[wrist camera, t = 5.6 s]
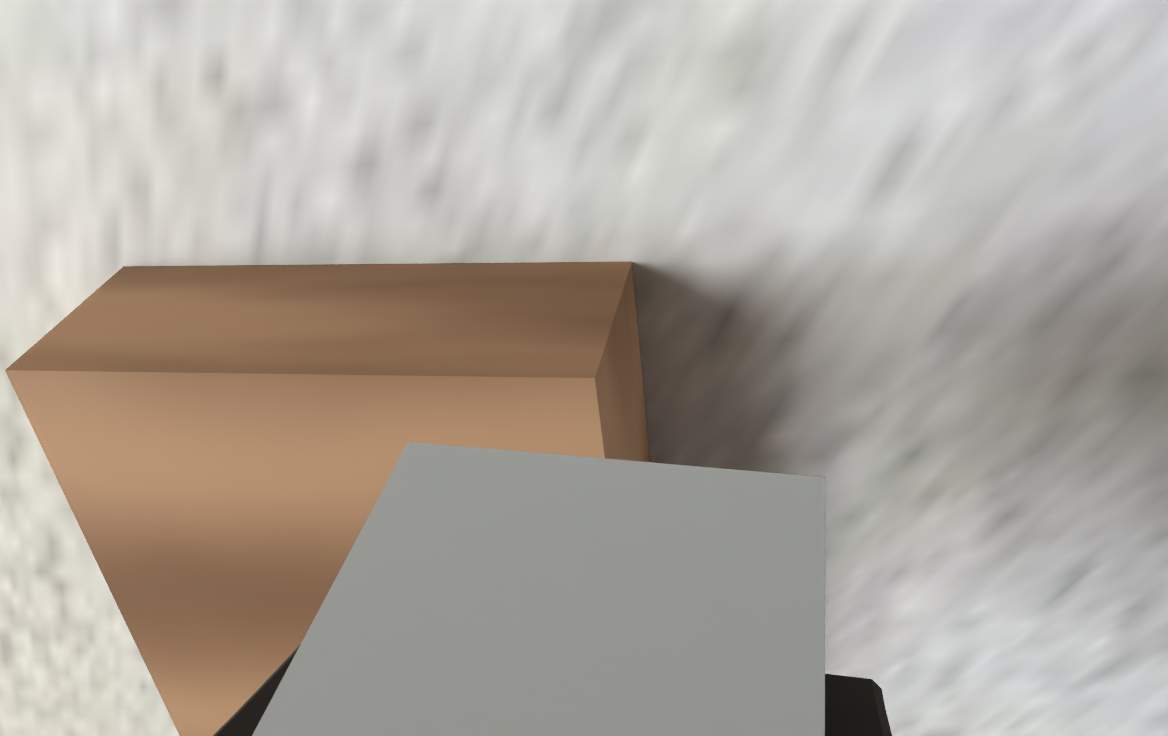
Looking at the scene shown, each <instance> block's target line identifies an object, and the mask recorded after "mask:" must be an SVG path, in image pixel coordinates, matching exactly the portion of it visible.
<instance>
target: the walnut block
mask: <svg viewBox="0 0 1168 736" xmlns="http://www.w3.org/2000/svg"><path fill="white" fill-rule="evenodd" d="M5 371H6V373H7V375H8V377H9V379H10V381H11V383H12V385H13V388H14V390H15V392H16V394H17V396H18V398H19V400H20V402H21V404H22V406H23V409H24V411H25V413H26V415H27V417H28V419H29V421H30V423H31V425H32V427H33V429H34V432H35V434H36V436H37V438H38V440H39V442H40V444H41V446H42V448H43V450H44V452H45V455H46V457H47V459H48V461H49V463H50V465H51V467H52V469H53V471H54V473H55V475H56V478H57V480H58V482H59V484H60V486H61V488H62V490H63V492H64V494H65V496H66V498H67V501H68V503H69V505H70V507H71V509H72V511H73V513H74V515H75V517H76V519H77V522H78V524H79V526H80V528H81V530H82V532H83V534H84V536H85V538H86V540H87V542H88V545H89V547H90V549H91V551H92V553H93V555H94V557H95V559H96V561H97V563H98V565H99V568H100V570H101V572H102V574H103V576H104V578H105V580H106V582H107V584H108V586H109V588H110V591H111V593H112V595H113V597H114V599H115V601H116V603H117V605H118V607H119V609H120V611H121V614H122V616H123V618H124V620H125V622H126V624H127V626H128V628H129V630H130V632H131V635H132V637H133V639H134V641H135V643H136V645H137V647H138V649H139V651H140V653H141V655H142V658H143V660H144V662H145V664H146V666H147V668H148V670H149V672H150V674H151V676H152V678H153V681H154V683H155V685H156V687H157V689H158V691H159V693H160V695H161V697H162V699H163V701H164V704H165V706H166V708H167V710H168V712H169V714H170V716H171V718H172V720H173V722H174V725H175V727H176V729H177V731H178V733H179V735H180V736H213V735H214V734H215V733H216V732H217V731H218V730H219V729H220V728H221V727H222V726H223V725H224V724H225V723H226V722H227V721H228V720H229V719H230V718H231V717H232V716H233V715H234V714H235V713H236V712H237V711H238V710H239V709H240V708H241V707H242V705H243V704H244V703H245V702H246V701H247V700H248V699H249V698H250V697H251V696H252V695H253V694H254V693H255V692H256V691H257V690H258V689H259V688H260V687H261V686H262V685H263V684H264V683H265V681H266V680H267V679H268V678H269V677H270V676H271V675H272V674H273V673H274V672H275V671H276V670H277V669H278V668H279V667H280V666H281V665H282V663H283V662H284V661H285V660H286V659H287V658H288V657H289V656H290V655H291V654H292V653H293V652H294V651H295V650H296V649H297V647H298V646H299V645H300V644H301V643H302V641H303V639H304V637H305V635H306V633H307V631H308V630H309V628H310V626H311V624H312V622H313V620H314V618H315V616H316V615H317V613H318V611H319V609H320V607H321V605H322V603H323V601H324V599H325V598H326V596H327V594H328V592H329V590H330V588H331V586H332V584H333V583H334V581H335V579H336V577H337V575H338V573H339V571H340V569H341V567H342V566H343V564H344V562H345V560H346V558H347V556H348V554H349V552H350V551H351V549H352V547H353V545H354V543H355V541H356V539H357V537H358V535H359V534H360V532H361V530H362V528H363V526H364V524H365V522H366V520H367V519H368V517H369V515H370V513H371V511H372V509H373V507H374V505H375V504H376V502H377V500H378V498H379V496H380V494H381V492H382V490H383V488H384V487H385V485H386V483H387V481H388V479H389V477H390V475H391V473H392V472H393V470H394V468H395V466H396V464H397V462H398V460H399V458H400V456H401V455H402V453H403V451H404V449H405V447H406V445H407V443H408V442H416V443H428V444H440V445H452V446H463V447H475V448H487V449H499V450H511V451H522V452H534V453H546V454H558V455H570V456H581V457H593V458H605V459H617V460H628V461H640V462H651V460H650V449H649V439H648V428H647V418H646V407H645V396H644V386H643V375H642V364H641V354H640V343H639V332H638V322H637V311H636V301H635V290H634V279H633V269H632V262H547V263H444V264H340V265H237V266H133V267H123V268H121V269H120V270H119V271H118V272H117V273H116V274H115V275H113V276H112V277H111V278H110V279H109V280H108V281H107V282H105V283H104V284H103V285H102V286H101V287H100V288H99V289H98V290H96V291H95V292H94V293H93V294H92V295H91V296H90V297H88V298H87V299H86V300H85V301H84V302H83V303H82V304H80V305H79V306H78V307H77V308H76V309H75V310H74V311H72V312H71V313H70V314H69V315H68V316H67V317H66V318H64V319H63V320H62V321H61V322H60V323H59V324H58V325H56V326H55V327H54V328H53V329H52V330H51V331H50V332H48V333H47V334H46V335H45V336H44V337H43V338H42V339H40V340H39V341H38V342H37V343H36V344H35V345H34V346H32V347H31V348H30V349H29V350H28V351H27V352H26V353H24V354H23V355H22V356H21V357H20V358H19V359H18V360H16V361H15V362H14V363H13V364H12V365H11V366H10V367H8V368H7V369H6V370H5Z"/></svg>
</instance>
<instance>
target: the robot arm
mask: <svg viewBox="0 0 1168 736" xmlns="http://www.w3.org/2000/svg"><path fill="white" fill-rule="evenodd" d="M300 645H301V644H300ZM300 645H299V646H298V647H297V649H296V650H295V651H294V652H293V653H292V654H291V655H290V656H289V657H288V658H287V659H286V660H285V661H284V662H283V663H282V665H281V666H280V667H279V668H278V669H277V670H276V671H275V672H274V673H273V674H272V675H271V676H270V677H269V678H268V679H267V680H266V681H265V683H264V684H263V685H262V686H261V687H260V688H259V689H258V690H257V691H256V692H255V693H254V694H253V695H252V696H251V697H250V698H249V699H248V700H247V701H246V702H245V703H244V704H243V705H242V707H241V708H240V709H239V710H238V711H237V712H236V713H235V714H234V715H233V716H232V717H231V718H230V719H229V720H228V721H227V722H226V723H225V724H224V725H223V726H222V727H221V728H220V729H219V730H218V731H217V732H216V733H215V734H214V735H213V736H252V735H253V733H254V731H255V729H256V727H257V726H258V724H259V722H260V720H261V718H262V716H263V714H264V712H265V710H266V709H267V707H268V705H269V703H270V701H271V699H272V697H273V695H274V694H275V692H276V690H277V688H278V686H279V684H280V682H281V680H282V678H283V677H284V675H285V673H286V671H287V669H288V667H289V665H290V663H291V662H292V660H293V658H294V656H295V654H296V652H297V650H298V648H299V647H300ZM825 736H892V734H891V730H890V726H889V722H888V718H887V714H886V710H885V705H884V700H883V694H882V689H881V688H880V687H879V686H878V685H877V684H876V683H875V682H874V681H873V680H872V679H865V678H856V677H848V676H839V675H831V674H825Z"/></svg>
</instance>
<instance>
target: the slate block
mask: <svg viewBox="0 0 1168 736" xmlns="http://www.w3.org/2000/svg"><path fill="white" fill-rule="evenodd" d="M252 736H825V477H817V476H805V475H794V474H782V473H770V472H758V471H746V470H735V469H723V468H711V467H699V466H687V465H676V464H664V463H652V462H640V461H628V460H617V459H605V458H593V457H581V456H570V455H558V454H546V453H534V452H522V451H511V450H499V449H487V448H475V447H463V446H452V445H440V444H428V443H416V442H408V443H407V445H406V447H405V449H404V451H403V453H402V455H401V456H400V458H399V460H398V462H397V464H396V466H395V468H394V470H393V472H392V473H391V475H390V477H389V479H388V481H387V483H386V485H385V487H384V488H383V490H382V492H381V494H380V496H379V498H378V500H377V502H376V504H375V505H374V507H373V509H372V511H371V513H370V515H369V517H368V519H367V520H366V522H365V524H364V526H363V528H362V530H361V532H360V534H359V535H358V537H357V539H356V541H355V543H354V545H353V547H352V549H351V551H350V552H349V554H348V556H347V558H346V560H345V562H344V564H343V566H342V567H341V569H340V571H339V573H338V575H337V577H336V579H335V581H334V583H333V584H332V586H331V588H330V590H329V592H328V594H327V596H326V598H325V599H324V601H323V603H322V605H321V607H320V609H319V611H318V613H317V615H316V616H315V618H314V620H313V622H312V624H311V626H310V628H309V630H308V631H307V633H306V635H305V637H304V639H303V641H302V643H301V645H300V647H299V648H298V650H297V652H296V654H295V656H294V658H293V660H292V662H291V663H290V665H289V667H288V669H287V671H286V673H285V675H284V677H283V678H282V680H281V682H280V684H279V686H278V688H277V690H276V692H275V694H274V695H273V697H272V699H271V701H270V703H269V705H268V707H267V709H266V710H265V712H264V714H263V716H262V718H261V720H260V722H259V724H258V726H257V727H256V729H255V731H254V733H253V735H252Z"/></svg>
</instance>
